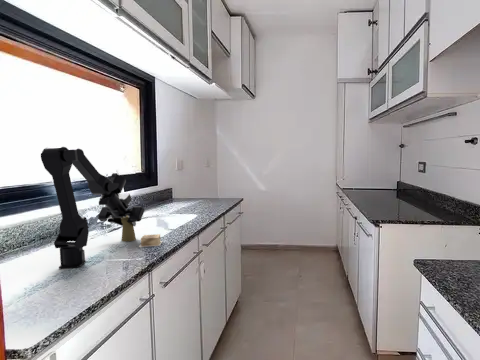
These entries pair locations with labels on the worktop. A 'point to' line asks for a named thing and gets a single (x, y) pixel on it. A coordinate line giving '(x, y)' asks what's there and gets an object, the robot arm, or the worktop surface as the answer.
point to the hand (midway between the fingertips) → (129, 225)
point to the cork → (127, 230)
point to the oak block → (150, 240)
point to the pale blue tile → (154, 245)
